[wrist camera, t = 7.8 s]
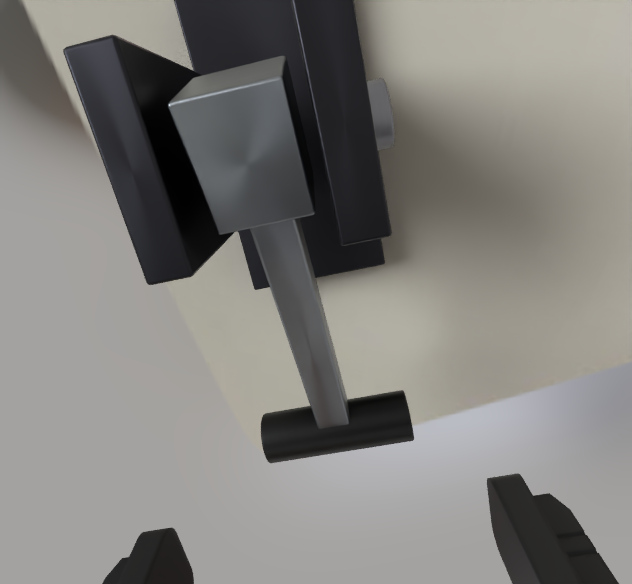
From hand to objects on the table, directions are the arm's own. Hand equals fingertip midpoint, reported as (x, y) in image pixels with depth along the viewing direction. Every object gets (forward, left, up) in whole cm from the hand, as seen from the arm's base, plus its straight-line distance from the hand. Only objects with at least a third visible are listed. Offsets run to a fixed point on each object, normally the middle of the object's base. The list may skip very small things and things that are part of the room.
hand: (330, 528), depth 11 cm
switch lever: (0, +5, -4) cm, 7 cm away
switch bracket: (0, +9, -12) cm, 15 cm away
